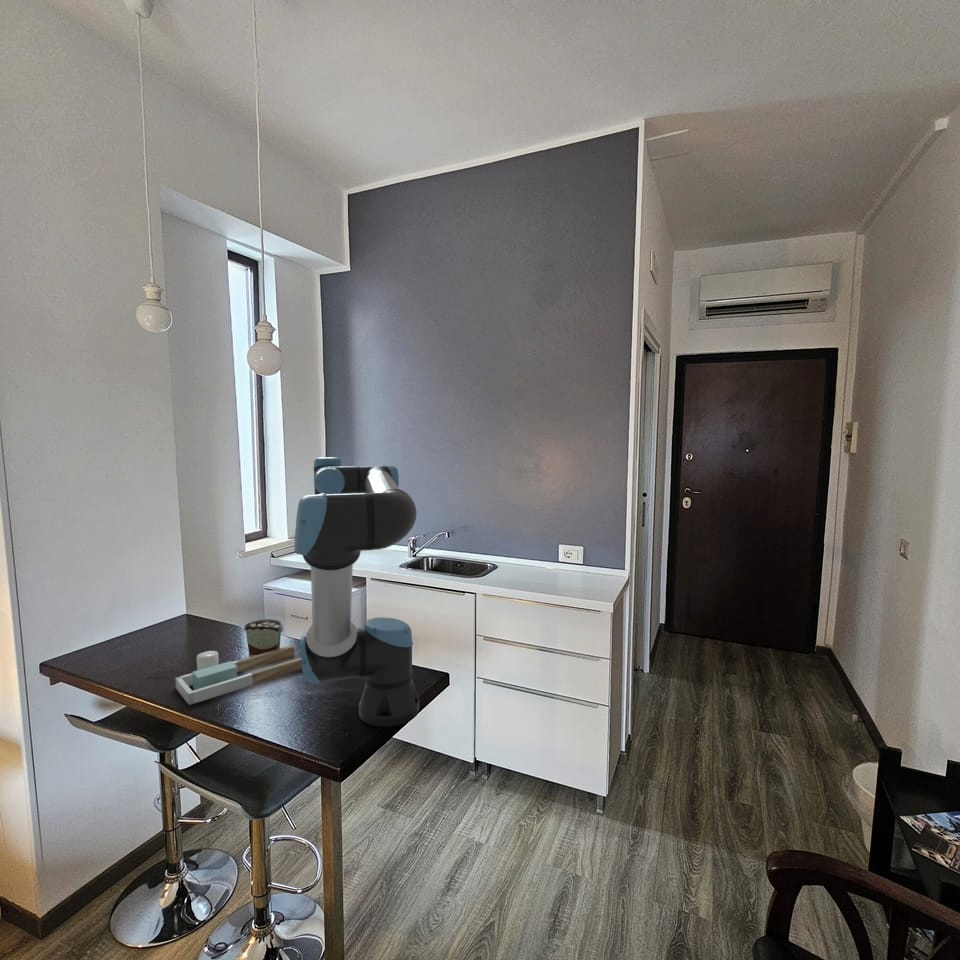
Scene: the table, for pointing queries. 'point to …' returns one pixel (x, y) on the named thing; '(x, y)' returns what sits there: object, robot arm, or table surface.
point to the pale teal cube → (204, 678)
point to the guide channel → (269, 658)
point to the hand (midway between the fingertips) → (330, 591)
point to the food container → (263, 636)
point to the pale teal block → (226, 671)
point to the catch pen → (210, 687)
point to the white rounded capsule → (207, 659)
